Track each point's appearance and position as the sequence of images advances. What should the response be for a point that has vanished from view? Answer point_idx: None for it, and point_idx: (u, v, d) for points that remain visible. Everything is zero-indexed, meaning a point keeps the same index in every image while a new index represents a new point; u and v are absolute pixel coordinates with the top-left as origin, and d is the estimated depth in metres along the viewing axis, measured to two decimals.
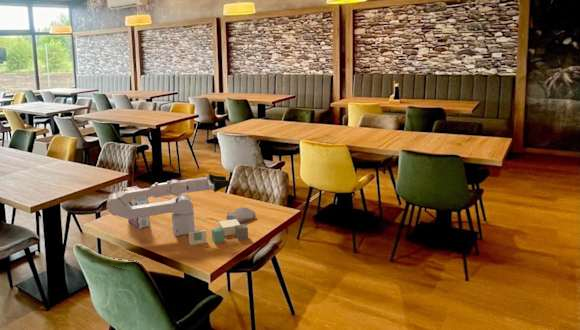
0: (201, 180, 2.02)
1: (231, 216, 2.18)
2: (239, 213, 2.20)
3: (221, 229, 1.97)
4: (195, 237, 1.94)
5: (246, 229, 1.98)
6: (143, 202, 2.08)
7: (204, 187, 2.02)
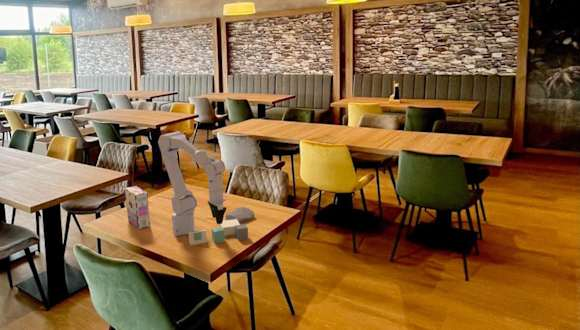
0: (222, 194, 1.92)
1: (230, 216, 2.18)
2: (238, 213, 2.20)
3: (221, 229, 1.97)
4: (195, 237, 1.94)
5: (246, 229, 1.98)
6: (143, 202, 2.08)
7: (215, 197, 1.90)
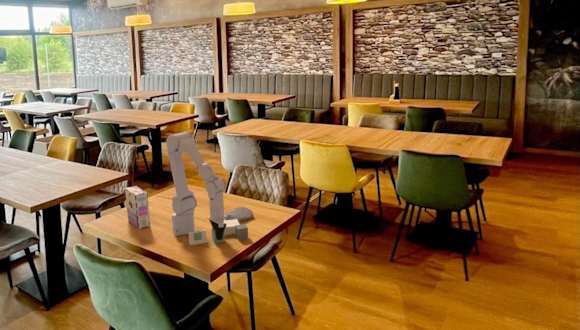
0: (223, 211, 1.94)
1: (229, 215, 2.18)
2: (237, 212, 2.21)
3: None
4: (195, 237, 1.94)
5: (246, 229, 1.98)
6: (143, 202, 2.08)
7: (216, 215, 1.92)
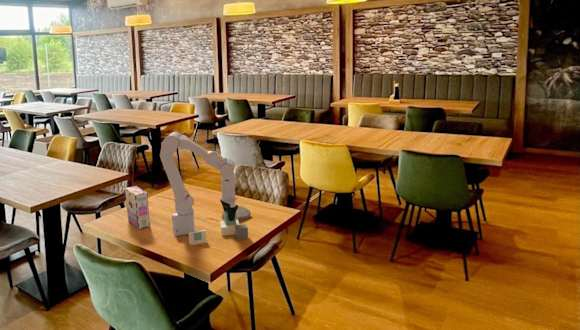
0: (234, 192, 2.02)
1: None
2: None
3: None
4: (195, 237, 1.94)
5: (246, 229, 1.98)
6: (143, 202, 2.08)
7: (228, 196, 2.00)
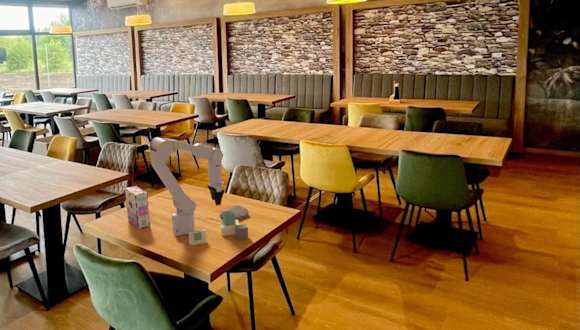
0: (220, 177, 2.11)
1: None
2: None
3: (232, 212, 2.05)
4: (195, 237, 1.94)
5: (246, 229, 1.98)
6: (143, 202, 2.08)
7: (214, 181, 2.09)
